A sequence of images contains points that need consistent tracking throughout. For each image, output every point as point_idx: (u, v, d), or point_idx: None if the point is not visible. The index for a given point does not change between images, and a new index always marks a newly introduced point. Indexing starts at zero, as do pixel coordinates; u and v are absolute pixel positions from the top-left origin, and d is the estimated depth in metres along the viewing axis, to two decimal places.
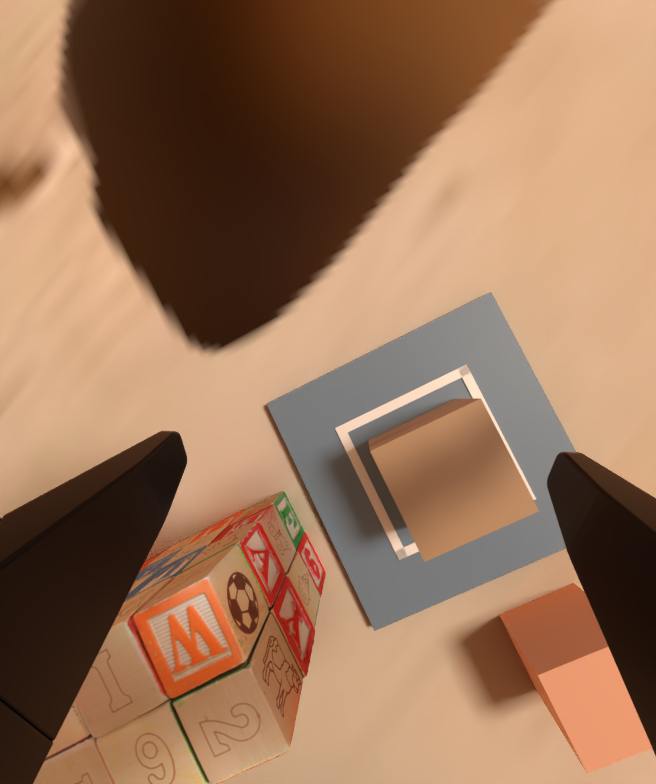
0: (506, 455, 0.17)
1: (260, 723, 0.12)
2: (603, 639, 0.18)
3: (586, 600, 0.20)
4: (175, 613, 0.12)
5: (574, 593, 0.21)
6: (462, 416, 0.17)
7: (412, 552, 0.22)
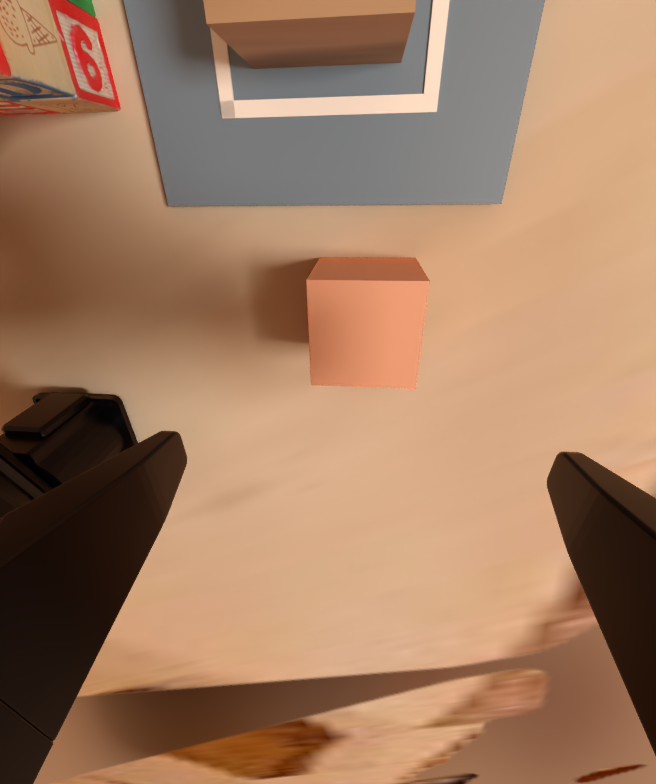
0: None
1: None
2: (397, 278, 0.15)
3: (413, 264, 0.17)
4: None
5: (407, 260, 0.18)
6: None
7: (244, 115, 0.15)
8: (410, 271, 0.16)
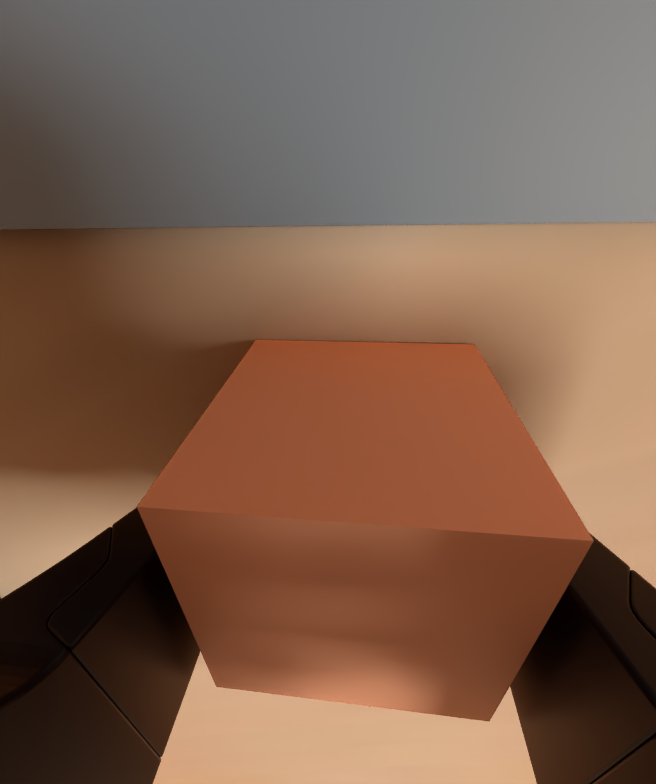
0: None
1: None
2: (457, 498, 0.04)
3: (481, 383, 0.06)
4: None
5: (459, 361, 0.07)
6: None
7: None
8: (487, 433, 0.05)
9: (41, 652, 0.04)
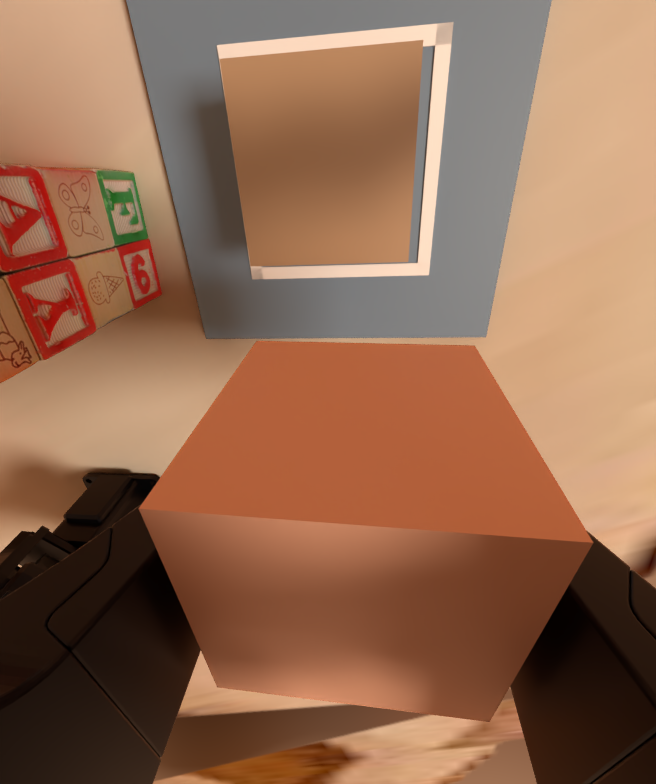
0: (409, 166, 0.12)
1: None
2: (458, 500, 0.04)
3: (481, 385, 0.06)
4: None
5: (459, 362, 0.07)
6: (380, 62, 0.10)
7: (270, 277, 0.19)
8: (487, 434, 0.05)
9: (40, 652, 0.04)
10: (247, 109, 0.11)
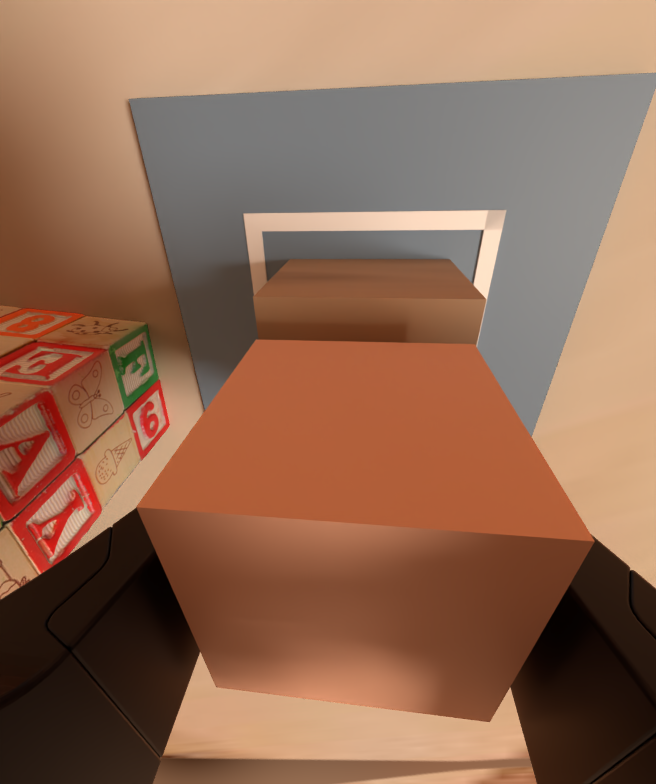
0: None
1: None
2: (458, 498, 0.04)
3: (481, 383, 0.06)
4: None
5: (460, 361, 0.07)
6: (435, 314, 0.09)
7: None
8: (487, 433, 0.05)
9: (40, 652, 0.04)
10: None
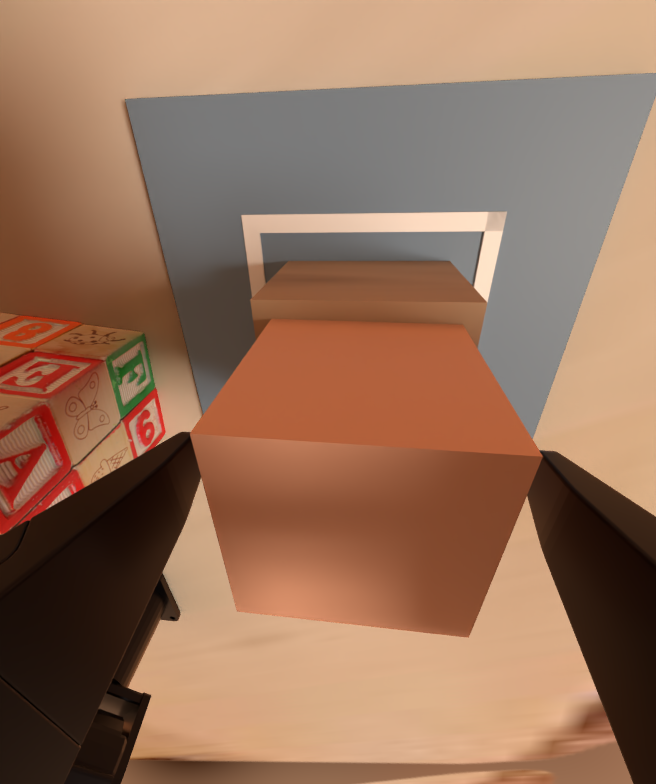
0: None
1: None
2: (441, 430, 0.05)
3: (466, 353, 0.08)
4: None
5: (449, 337, 0.08)
6: (435, 317, 0.09)
7: None
8: (468, 388, 0.06)
9: None
10: None
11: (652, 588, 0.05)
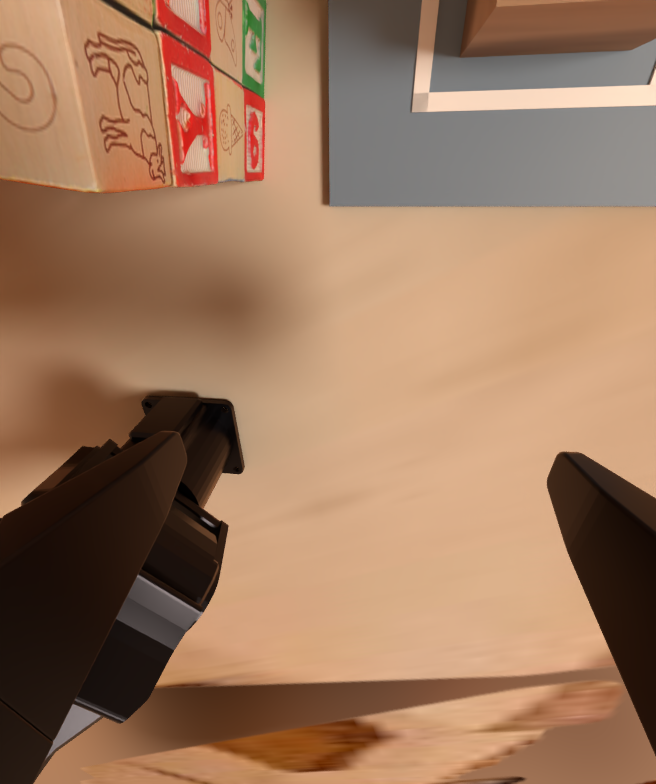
0: None
1: (55, 114, 0.06)
2: None
3: None
4: None
5: None
6: None
7: (437, 108, 0.14)
8: None
9: None
10: None
11: None
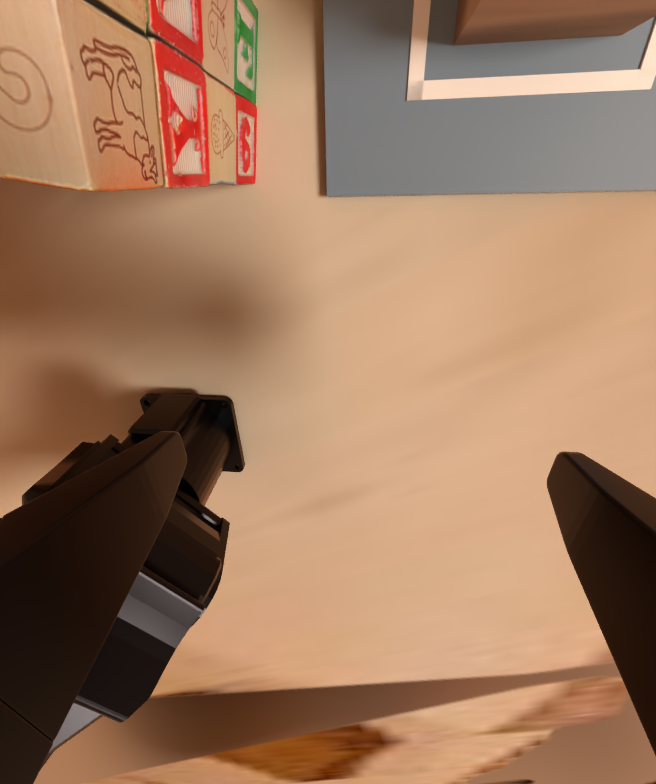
0: None
1: (50, 115, 0.07)
2: None
3: None
4: None
5: None
6: None
7: (432, 96, 0.14)
8: None
9: None
10: None
11: None
